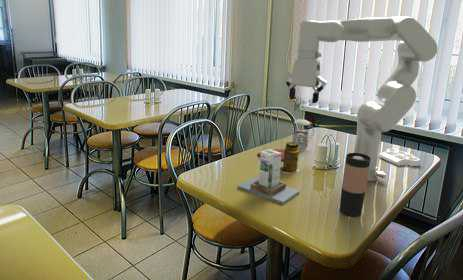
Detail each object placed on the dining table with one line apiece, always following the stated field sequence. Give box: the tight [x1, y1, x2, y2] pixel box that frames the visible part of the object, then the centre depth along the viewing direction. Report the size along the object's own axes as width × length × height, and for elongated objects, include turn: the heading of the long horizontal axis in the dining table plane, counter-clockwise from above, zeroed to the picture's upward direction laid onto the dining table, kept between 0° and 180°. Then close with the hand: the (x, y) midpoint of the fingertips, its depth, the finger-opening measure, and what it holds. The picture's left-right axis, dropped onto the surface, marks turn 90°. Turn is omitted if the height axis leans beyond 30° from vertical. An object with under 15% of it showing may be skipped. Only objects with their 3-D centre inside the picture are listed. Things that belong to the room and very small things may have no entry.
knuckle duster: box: [378, 148, 421, 167], centre depth 176 cm, size 3×18×15 cm
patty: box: [256, 148, 285, 162], centre depth 175 cm, size 18×14×2 cm
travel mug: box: [339, 152, 371, 218], centre depth 122 cm, size 8×8×20 cm
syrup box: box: [258, 148, 282, 190], centre depth 136 cm, size 6×6×14 cm
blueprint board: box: [237, 176, 300, 205], centre depth 138 cm, size 20×12×1 cm, turn 52°
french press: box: [292, 100, 315, 152], centre depth 185 cm, size 10×12×25 cm
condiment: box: [280, 141, 302, 175], centre depth 158 cm, size 7×8×12 cm
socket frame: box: [250, 180, 287, 196], centre depth 138 cm, size 10×10×2 cm
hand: (303, 100), depth 141 cm, fingers open, 9 cm apart
